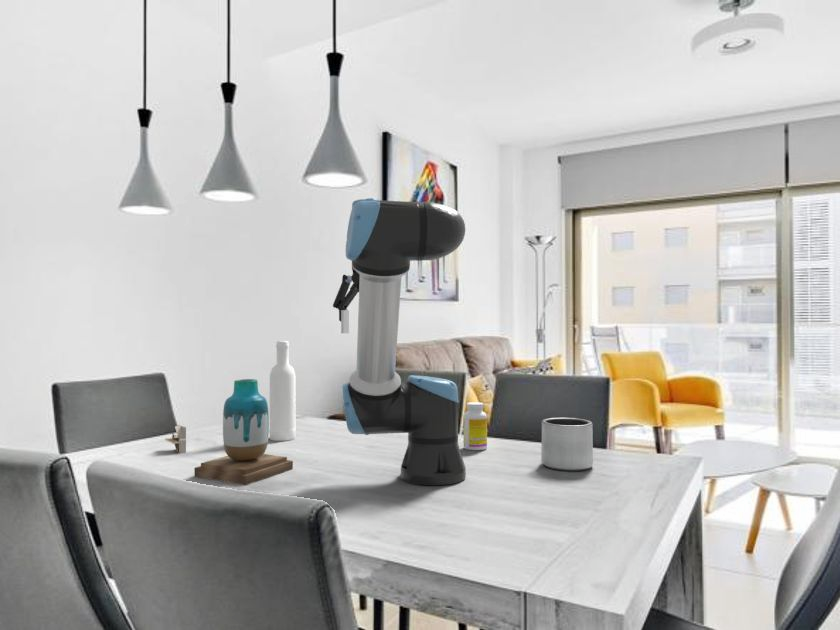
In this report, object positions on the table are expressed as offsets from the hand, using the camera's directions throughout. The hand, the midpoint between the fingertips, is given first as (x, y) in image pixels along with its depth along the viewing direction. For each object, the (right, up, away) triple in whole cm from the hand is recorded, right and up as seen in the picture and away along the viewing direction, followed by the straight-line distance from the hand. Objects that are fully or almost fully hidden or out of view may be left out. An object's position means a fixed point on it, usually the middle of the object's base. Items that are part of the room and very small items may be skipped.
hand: (365, 333), depth 166 cm
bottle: (-27, -33, +19) cm, 47 cm away
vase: (-27, -30, -22) cm, 46 cm away
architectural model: (-52, -34, +1) cm, 62 cm away
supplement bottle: (+31, -33, +4) cm, 45 cm away
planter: (+52, -33, -16) cm, 63 cm away
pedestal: (-27, -33, -22) cm, 48 cm away
